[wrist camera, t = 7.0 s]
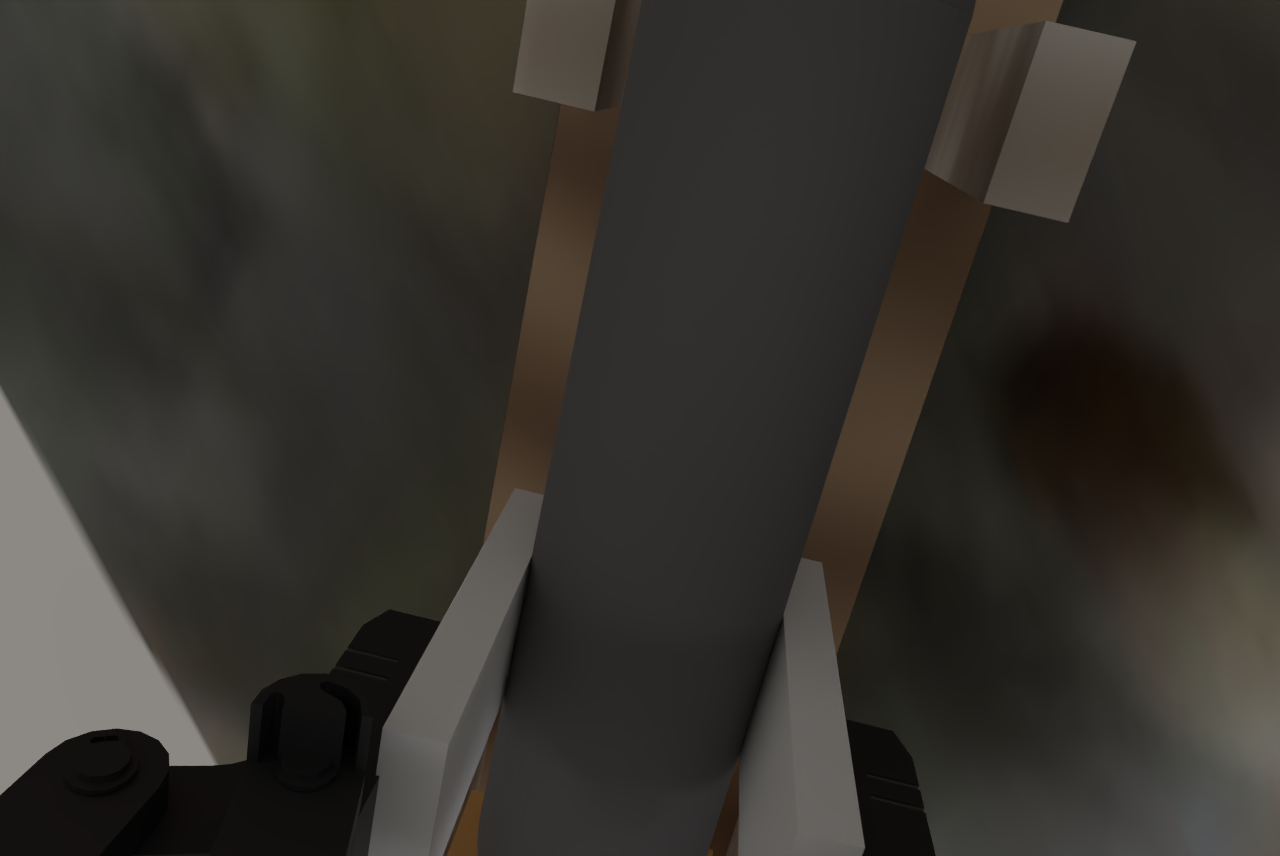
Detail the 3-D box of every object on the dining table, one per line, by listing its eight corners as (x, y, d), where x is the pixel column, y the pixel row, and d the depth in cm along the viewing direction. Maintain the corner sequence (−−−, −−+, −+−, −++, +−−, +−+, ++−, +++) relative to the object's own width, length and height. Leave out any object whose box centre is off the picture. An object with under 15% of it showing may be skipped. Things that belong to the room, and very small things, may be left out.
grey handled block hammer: (662, -203, 13) (614, -362, 8) (1021, -121, 13) (1186, -234, 8) (438, 964, 21) (347, 1229, 16) (658, 1020, 21) (632, 1303, 16)
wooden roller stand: (623, -216, 17) (558, -354, 12) (1092, -112, 17) (1254, -200, 12) (431, 859, 27) (345, 1066, 21) (732, 937, 26) (725, 1169, 21)
